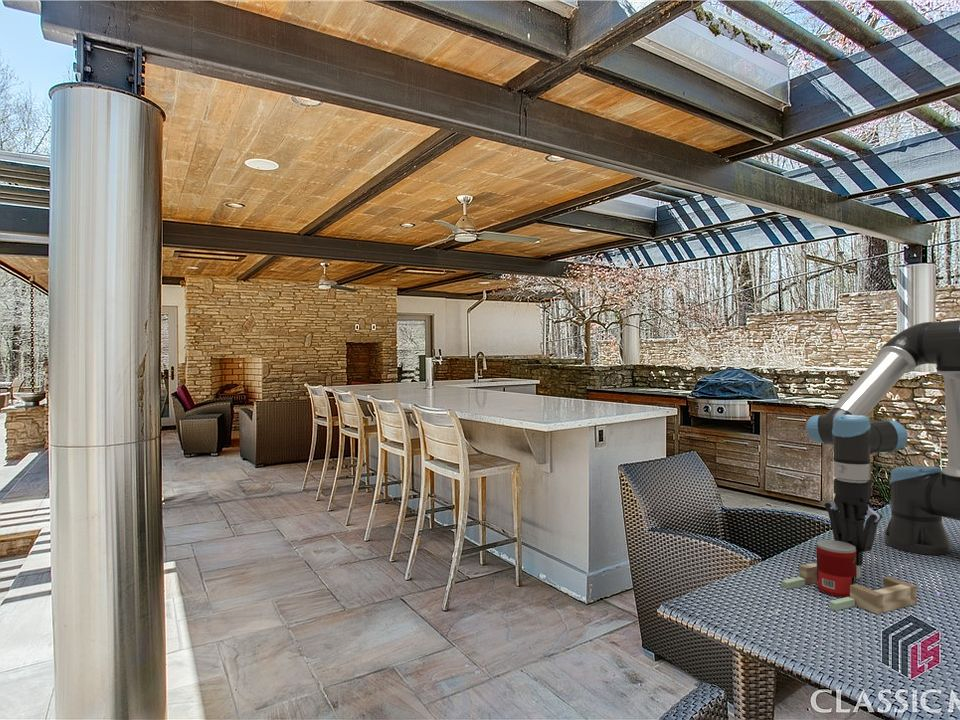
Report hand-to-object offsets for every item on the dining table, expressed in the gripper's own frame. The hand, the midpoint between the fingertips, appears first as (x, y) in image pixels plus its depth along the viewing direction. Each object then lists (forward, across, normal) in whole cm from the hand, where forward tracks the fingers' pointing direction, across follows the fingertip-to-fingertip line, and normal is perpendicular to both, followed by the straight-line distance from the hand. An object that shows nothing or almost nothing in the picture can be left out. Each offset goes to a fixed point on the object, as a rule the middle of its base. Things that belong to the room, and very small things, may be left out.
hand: (853, 576), depth 135 cm
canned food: (+3, 0, -5) cm, 6 cm away
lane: (+3, +2, -2) cm, 4 cm away
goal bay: (+3, 0, -12) cm, 12 cm away
